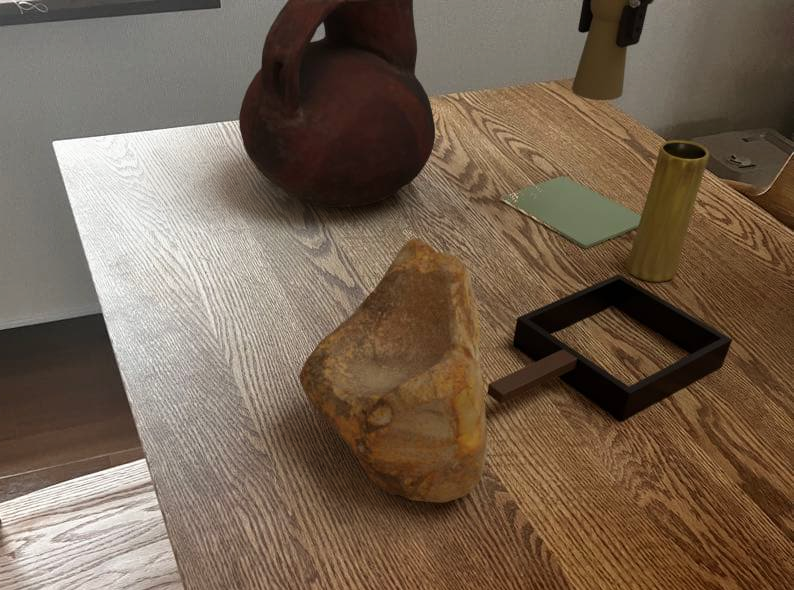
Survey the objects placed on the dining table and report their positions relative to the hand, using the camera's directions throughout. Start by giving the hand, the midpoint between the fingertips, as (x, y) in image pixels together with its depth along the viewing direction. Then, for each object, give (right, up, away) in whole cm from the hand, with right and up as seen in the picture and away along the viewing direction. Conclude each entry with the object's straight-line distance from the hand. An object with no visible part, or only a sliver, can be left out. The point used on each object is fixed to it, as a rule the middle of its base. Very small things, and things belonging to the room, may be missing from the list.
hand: (608, 35), depth 94 cm
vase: (+7, -25, +6) cm, 27 cm away
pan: (-5, -40, -9) cm, 42 cm away
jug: (-32, -10, +19) cm, 38 cm away
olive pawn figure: (0, -4, +4) cm, 6 cm away
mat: (-1, -14, +16) cm, 21 cm away
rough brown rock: (-25, -48, -16) cm, 56 cm away
